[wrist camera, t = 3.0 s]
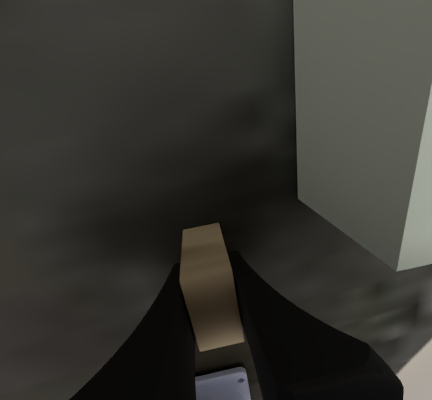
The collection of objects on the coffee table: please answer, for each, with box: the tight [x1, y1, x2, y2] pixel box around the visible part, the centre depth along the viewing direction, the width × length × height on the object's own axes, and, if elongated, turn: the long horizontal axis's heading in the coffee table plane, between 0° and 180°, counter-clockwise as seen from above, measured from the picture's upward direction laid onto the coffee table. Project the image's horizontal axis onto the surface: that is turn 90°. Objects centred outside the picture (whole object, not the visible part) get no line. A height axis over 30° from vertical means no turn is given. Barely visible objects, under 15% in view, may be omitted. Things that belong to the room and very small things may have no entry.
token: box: [179, 223, 244, 352], centre depth 11 cm, size 4×2×4 cm, turn 9°
